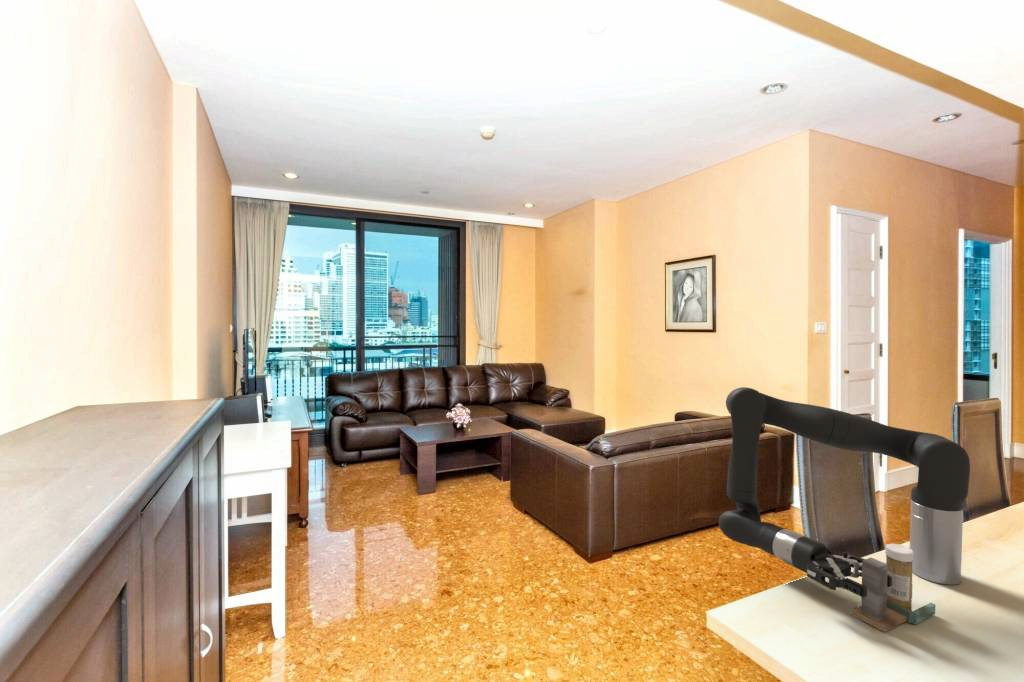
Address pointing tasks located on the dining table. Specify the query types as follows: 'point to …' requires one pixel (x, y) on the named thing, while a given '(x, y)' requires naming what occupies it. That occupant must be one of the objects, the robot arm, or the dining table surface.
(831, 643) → the dining table surface
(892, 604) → the stand
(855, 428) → the robot arm
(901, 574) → the sprinkles bottle
